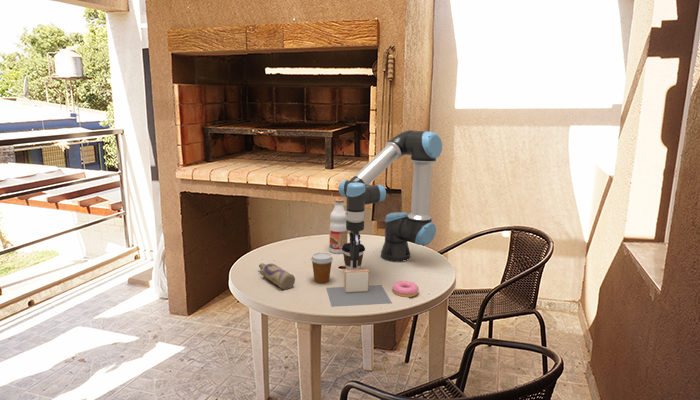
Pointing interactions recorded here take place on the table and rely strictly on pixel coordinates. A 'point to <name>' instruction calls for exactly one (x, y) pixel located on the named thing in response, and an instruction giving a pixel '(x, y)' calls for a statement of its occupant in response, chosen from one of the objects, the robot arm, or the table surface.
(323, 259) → the disposable coffee cup
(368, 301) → the mat
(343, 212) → the fruit juice
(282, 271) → the decorative bottle
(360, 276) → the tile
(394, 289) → the doughnut
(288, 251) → the table surface
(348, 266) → the coffee cup
